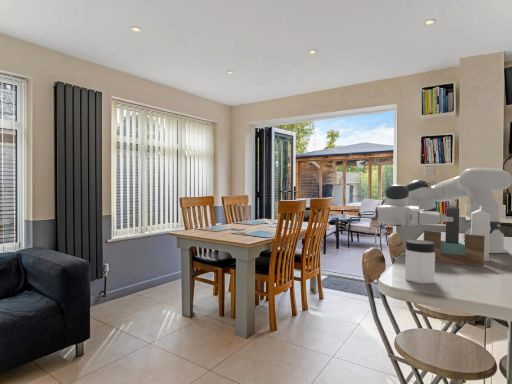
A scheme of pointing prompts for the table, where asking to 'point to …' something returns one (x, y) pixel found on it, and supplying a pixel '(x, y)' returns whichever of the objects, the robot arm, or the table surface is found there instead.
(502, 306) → the table surface
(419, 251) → the jar
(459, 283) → the table surface
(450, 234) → the grey capped bottle
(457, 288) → the table surface
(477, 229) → the milk
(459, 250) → the teal block
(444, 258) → the brown notched panel
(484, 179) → the robot arm
